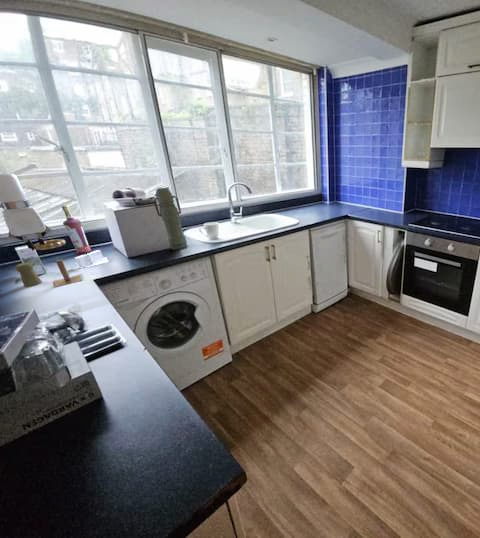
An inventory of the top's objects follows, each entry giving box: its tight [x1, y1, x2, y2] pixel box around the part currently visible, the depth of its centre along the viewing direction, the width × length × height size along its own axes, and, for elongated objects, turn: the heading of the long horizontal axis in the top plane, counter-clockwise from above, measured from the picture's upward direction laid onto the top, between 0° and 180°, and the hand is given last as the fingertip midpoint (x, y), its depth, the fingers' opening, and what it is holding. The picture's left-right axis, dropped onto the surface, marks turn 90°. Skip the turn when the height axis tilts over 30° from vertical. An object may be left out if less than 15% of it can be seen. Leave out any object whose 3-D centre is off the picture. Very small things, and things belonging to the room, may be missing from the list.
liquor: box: [61, 204, 92, 255], centre depth 169 cm, size 7×7×28 cm
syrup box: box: [14, 245, 47, 277], centre depth 143 cm, size 6×6×14 cm
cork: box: [14, 262, 43, 288], centre depth 131 cm, size 6×6×11 cm
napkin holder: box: [74, 249, 110, 268], centre depth 156 cm, size 15×11×6 cm
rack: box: [53, 259, 83, 288], centre depth 133 cm, size 9×9×11 cm
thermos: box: [152, 187, 188, 251], centre depth 172 cm, size 9×12×35 cm
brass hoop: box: [33, 238, 67, 251], centre depth 127 cm, size 10×10×2 cm
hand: (38, 248), depth 125 cm, fingers closed on brass hoop, 2 cm apart
